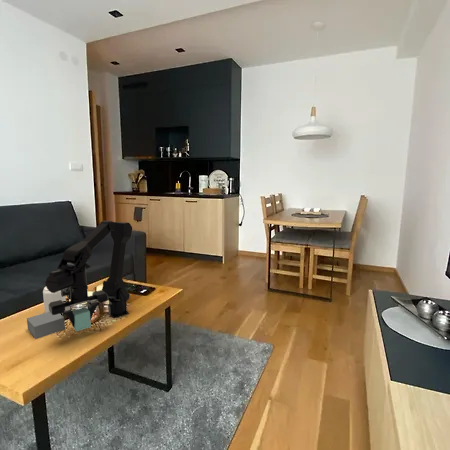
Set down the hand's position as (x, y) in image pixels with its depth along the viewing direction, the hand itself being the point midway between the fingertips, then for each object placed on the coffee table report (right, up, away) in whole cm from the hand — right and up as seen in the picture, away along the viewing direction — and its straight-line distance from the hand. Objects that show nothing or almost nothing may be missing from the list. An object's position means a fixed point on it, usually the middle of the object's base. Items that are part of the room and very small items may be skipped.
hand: (81, 323), depth 108 cm
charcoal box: (-16, -4, +5) cm, 17 cm away
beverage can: (-20, -2, +19) cm, 28 cm away
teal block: (0, -1, 0) cm, 1 cm away
